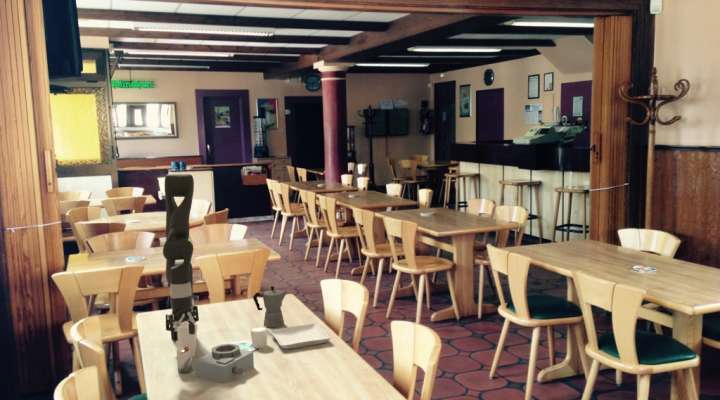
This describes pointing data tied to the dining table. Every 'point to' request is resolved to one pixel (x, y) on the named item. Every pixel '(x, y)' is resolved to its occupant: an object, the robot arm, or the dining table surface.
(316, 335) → the salad plate
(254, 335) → the cream short cylinder
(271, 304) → the coffeepot
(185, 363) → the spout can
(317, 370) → the dining table surface
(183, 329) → the foam cup
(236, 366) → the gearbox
